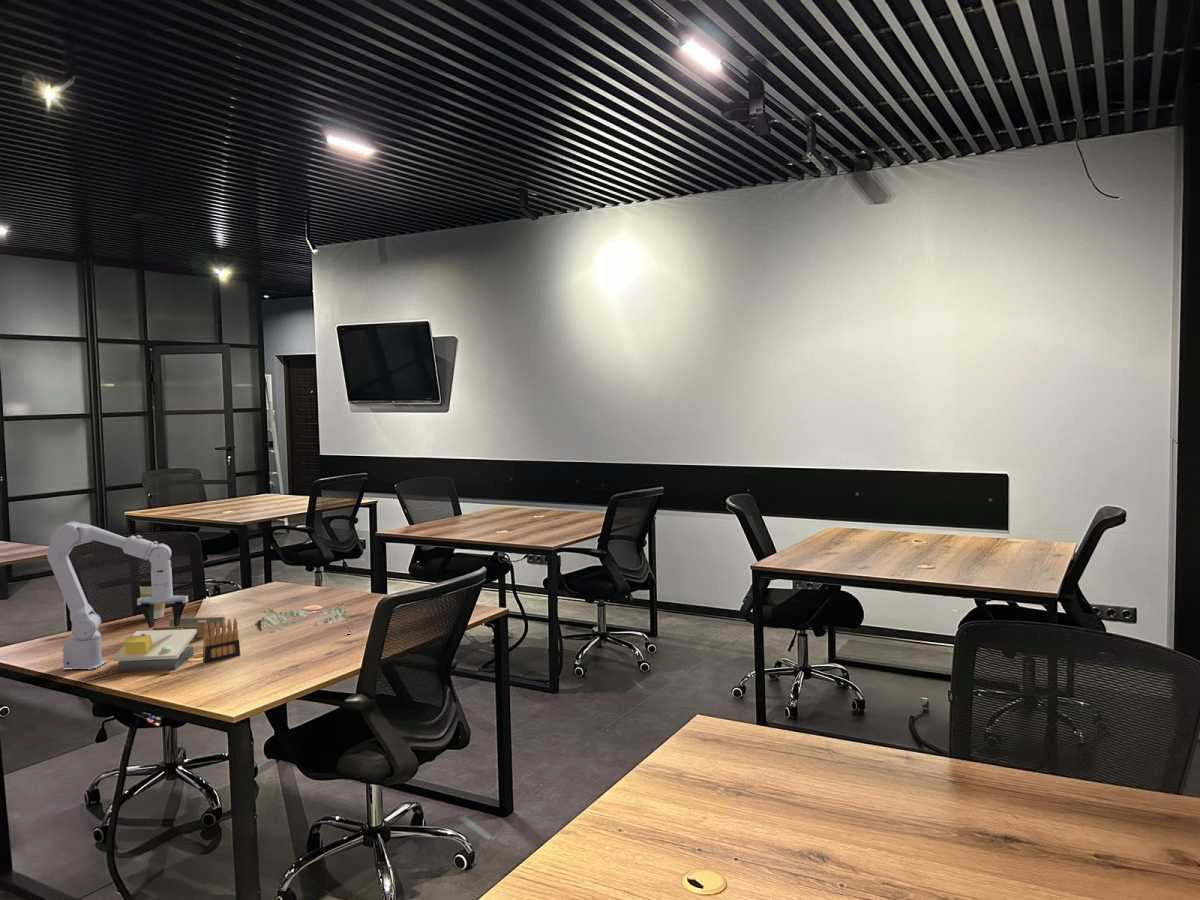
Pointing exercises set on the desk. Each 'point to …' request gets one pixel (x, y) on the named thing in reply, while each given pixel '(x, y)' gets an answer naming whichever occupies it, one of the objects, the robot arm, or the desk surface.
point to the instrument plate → (155, 645)
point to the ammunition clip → (221, 642)
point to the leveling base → (156, 663)
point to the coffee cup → (147, 592)
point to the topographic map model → (274, 617)
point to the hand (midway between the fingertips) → (164, 626)
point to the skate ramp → (194, 624)
